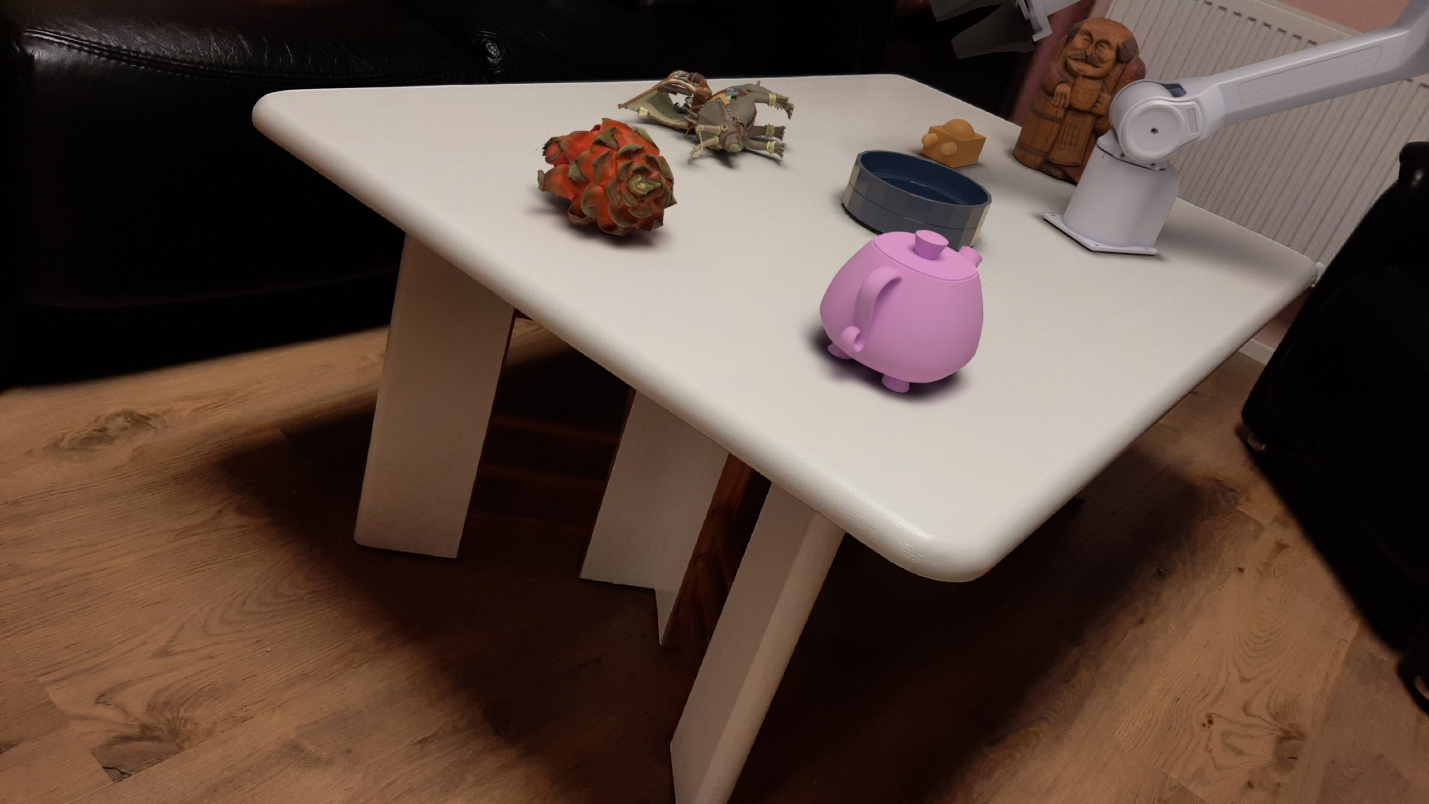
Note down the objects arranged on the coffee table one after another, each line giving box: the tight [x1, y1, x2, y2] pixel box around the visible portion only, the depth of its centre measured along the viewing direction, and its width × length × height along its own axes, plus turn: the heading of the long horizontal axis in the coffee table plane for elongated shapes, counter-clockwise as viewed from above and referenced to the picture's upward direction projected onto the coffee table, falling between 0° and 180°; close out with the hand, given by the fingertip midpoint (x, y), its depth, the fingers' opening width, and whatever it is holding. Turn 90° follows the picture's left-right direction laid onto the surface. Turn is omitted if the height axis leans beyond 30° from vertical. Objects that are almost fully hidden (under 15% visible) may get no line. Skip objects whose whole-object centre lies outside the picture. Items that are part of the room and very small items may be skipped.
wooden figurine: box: [1013, 16, 1147, 185], centre depth 123 cm, size 12×6×18 cm, turn 55°
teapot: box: [819, 230, 984, 393], centre depth 69 cm, size 10×15×9 cm
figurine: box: [617, 69, 795, 160], centre depth 102 cm, size 20×6×17 cm
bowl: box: [841, 149, 993, 251], centre depth 96 cm, size 13×13×4 cm
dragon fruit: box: [535, 117, 678, 237], centre depth 77 cm, size 8×8×12 cm
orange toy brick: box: [920, 118, 987, 169], centre depth 118 cm, size 8×4×5 cm, turn 139°
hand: (943, 31), depth 102 cm, fingers open, 7 cm apart
